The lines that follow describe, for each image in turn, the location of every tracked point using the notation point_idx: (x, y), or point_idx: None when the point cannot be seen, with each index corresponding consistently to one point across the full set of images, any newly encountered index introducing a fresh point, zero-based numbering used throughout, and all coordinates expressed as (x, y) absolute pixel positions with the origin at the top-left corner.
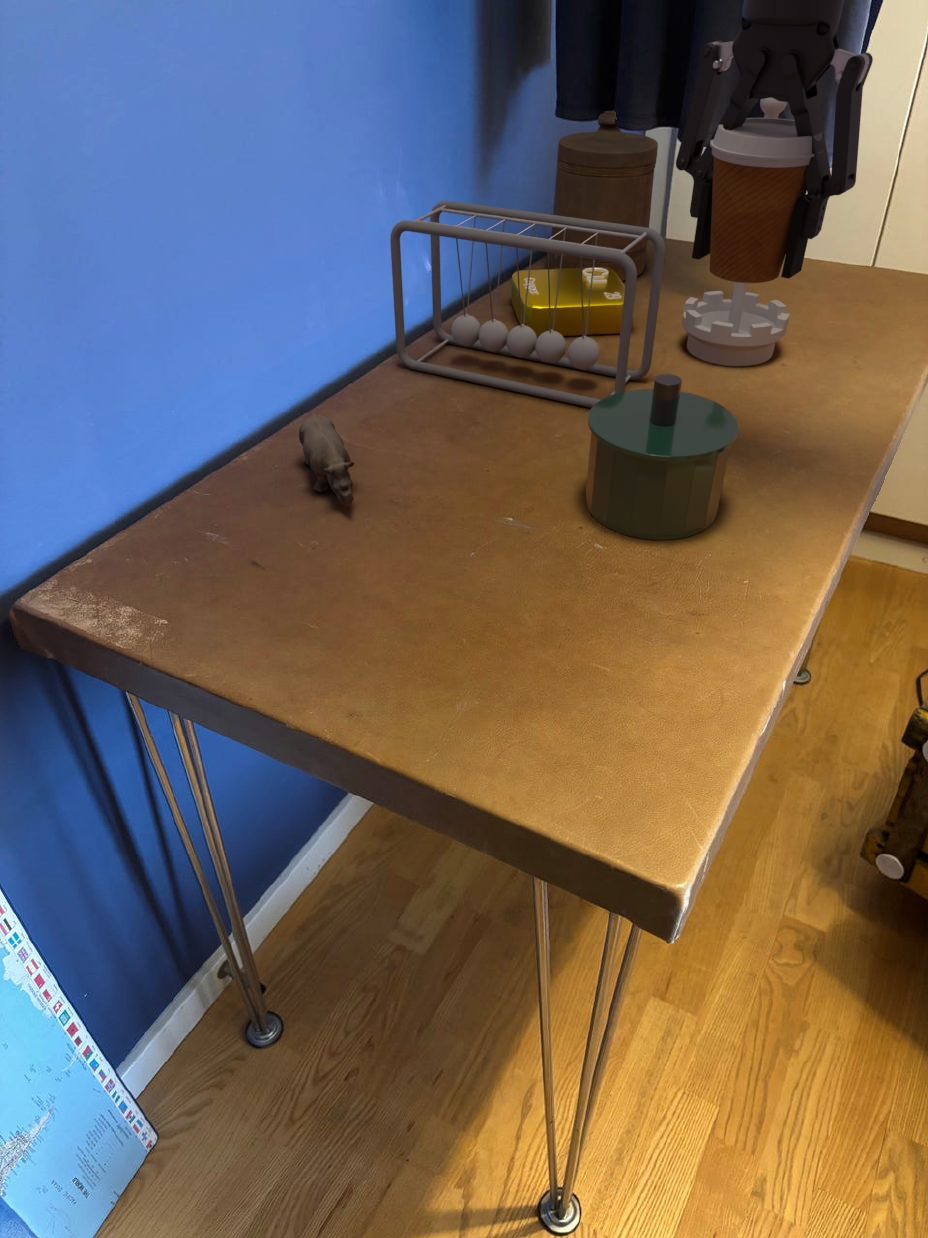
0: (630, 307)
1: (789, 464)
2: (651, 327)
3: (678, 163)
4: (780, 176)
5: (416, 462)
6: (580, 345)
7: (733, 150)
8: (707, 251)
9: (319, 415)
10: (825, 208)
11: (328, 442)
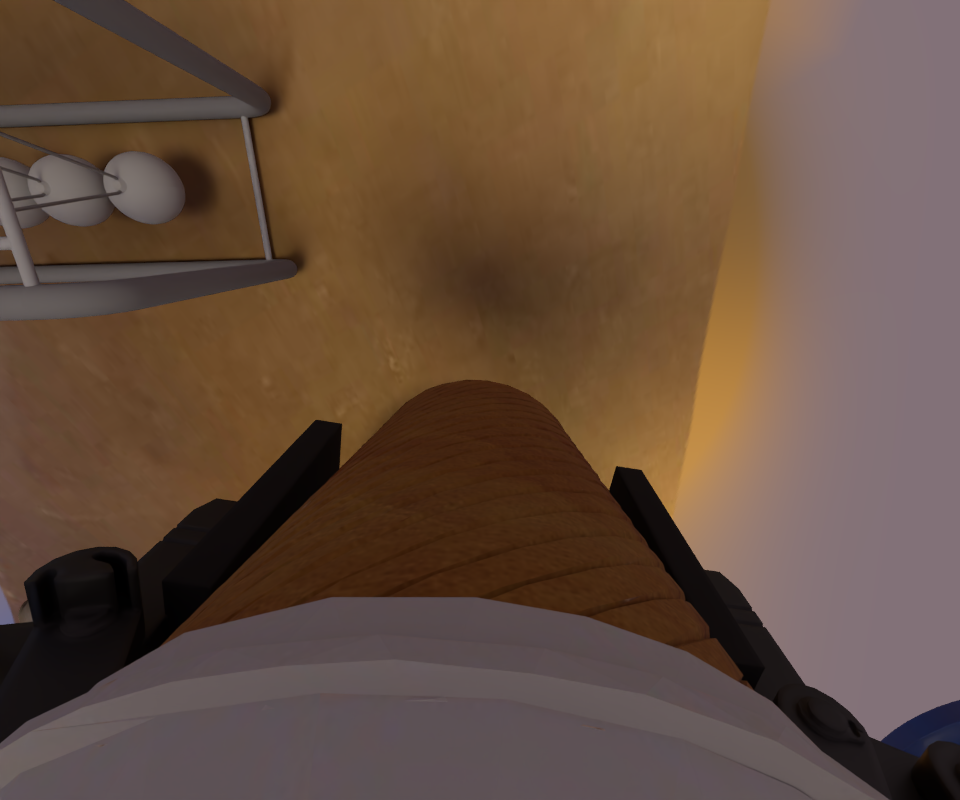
0: (195, 294)
1: (596, 304)
2: (216, 82)
3: None
4: None
5: (166, 522)
6: (134, 210)
7: None
8: (336, 460)
9: (27, 619)
10: (784, 662)
11: None
